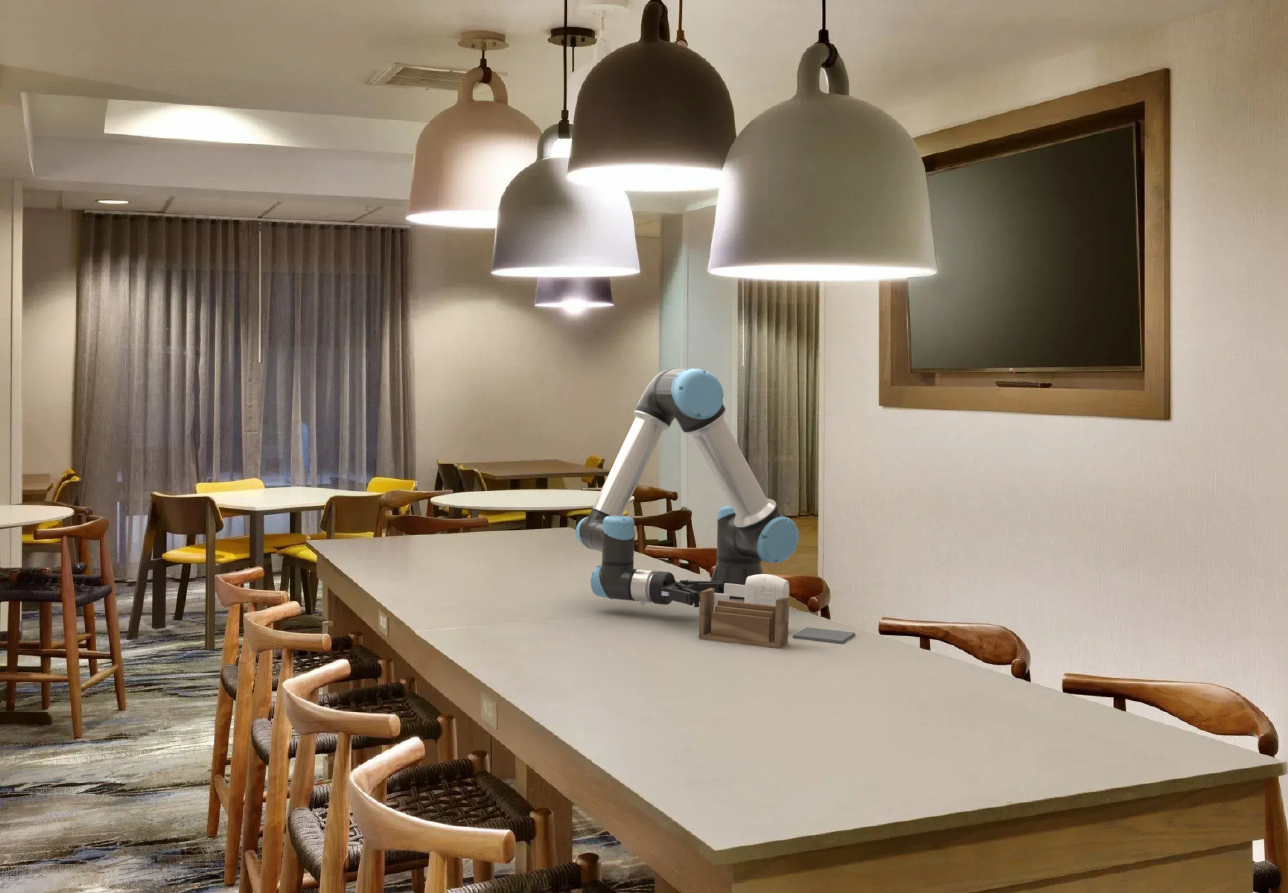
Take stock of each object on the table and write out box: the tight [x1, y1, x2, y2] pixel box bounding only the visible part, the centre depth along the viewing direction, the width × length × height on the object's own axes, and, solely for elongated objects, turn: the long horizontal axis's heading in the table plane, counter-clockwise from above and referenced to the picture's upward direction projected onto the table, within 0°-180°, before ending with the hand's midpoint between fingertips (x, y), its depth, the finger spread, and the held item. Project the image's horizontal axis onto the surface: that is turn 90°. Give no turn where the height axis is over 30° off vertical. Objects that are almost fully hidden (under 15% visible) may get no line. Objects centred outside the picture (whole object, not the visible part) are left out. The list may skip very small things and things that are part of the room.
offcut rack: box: [698, 588, 790, 649], centre depth 254 cm, size 6×18×10 cm, turn 64°
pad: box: [792, 626, 856, 644], centre depth 261 cm, size 10×11×1 cm
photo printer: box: [743, 573, 790, 606], centre depth 266 cm, size 10×4×12 cm, turn 61°
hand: (740, 596), depth 268 cm, fingers open, 13 cm apart
